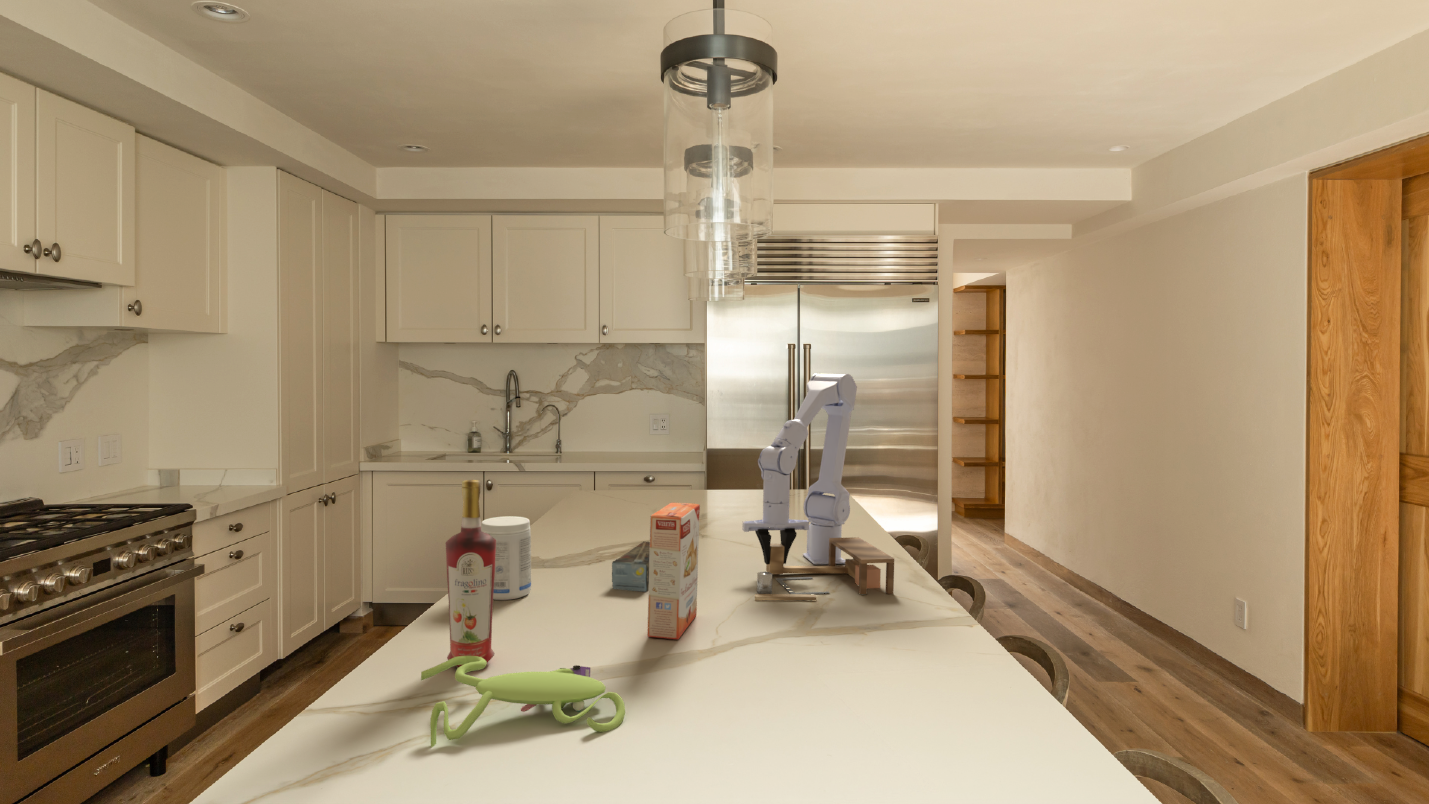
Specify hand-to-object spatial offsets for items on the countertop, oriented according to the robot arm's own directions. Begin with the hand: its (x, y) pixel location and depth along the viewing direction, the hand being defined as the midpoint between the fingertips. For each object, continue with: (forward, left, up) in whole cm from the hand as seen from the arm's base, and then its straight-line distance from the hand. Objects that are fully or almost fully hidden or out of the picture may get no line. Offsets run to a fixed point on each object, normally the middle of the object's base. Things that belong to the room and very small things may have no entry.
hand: (775, 563), depth 178 cm
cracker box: (+31, -27, -3) cm, 41 cm away
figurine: (+62, -52, -3) cm, 81 cm away
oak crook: (+3, +8, -2) cm, 9 cm away
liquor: (+44, -60, -3) cm, 74 cm away
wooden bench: (+7, +17, -3) cm, 18 cm away
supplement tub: (+7, -57, -3) cm, 57 cm away
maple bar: (+18, -3, -3) cm, 18 cm away
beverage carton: (-1, -29, -3) cm, 29 cm away
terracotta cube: (+11, +17, -3) cm, 20 cm away
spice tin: (+13, -6, -3) cm, 15 cm away
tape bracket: (+9, +4, -3) cm, 10 cm away
